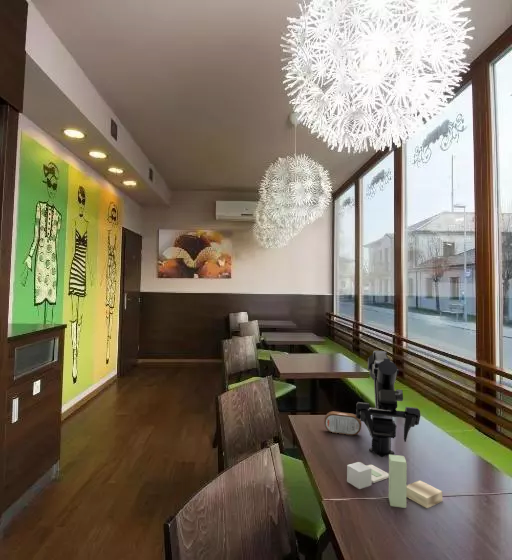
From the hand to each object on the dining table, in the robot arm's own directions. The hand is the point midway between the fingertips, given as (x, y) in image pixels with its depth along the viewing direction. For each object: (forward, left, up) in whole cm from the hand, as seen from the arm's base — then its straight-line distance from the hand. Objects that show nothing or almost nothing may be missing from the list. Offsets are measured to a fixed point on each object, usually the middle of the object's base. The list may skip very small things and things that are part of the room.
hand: (388, 439), depth 107 cm
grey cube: (+6, -6, -14) cm, 17 cm away
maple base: (-4, +8, -15) cm, 17 cm away
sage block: (+4, +6, -14) cm, 16 cm away
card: (-2, -8, -14) cm, 16 cm away
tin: (-18, -38, -14) cm, 45 cm away
